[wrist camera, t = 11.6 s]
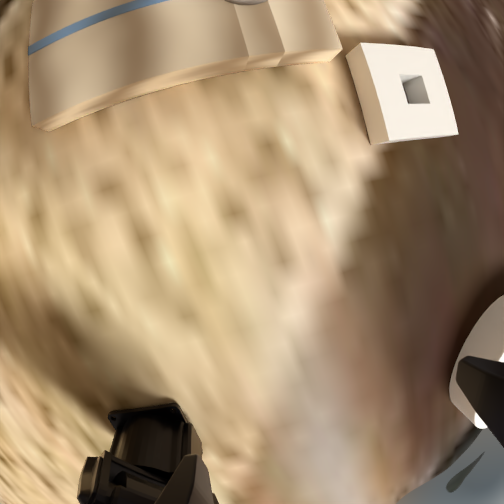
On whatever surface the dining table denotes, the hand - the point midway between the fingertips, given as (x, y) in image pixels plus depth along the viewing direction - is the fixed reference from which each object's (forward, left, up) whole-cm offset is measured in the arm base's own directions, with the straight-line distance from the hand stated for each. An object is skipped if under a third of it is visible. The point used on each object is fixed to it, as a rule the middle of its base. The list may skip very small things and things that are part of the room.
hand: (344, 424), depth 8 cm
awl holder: (+13, +12, -13) cm, 22 cm away
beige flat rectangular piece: (-2, +21, -13) cm, 24 cm away
